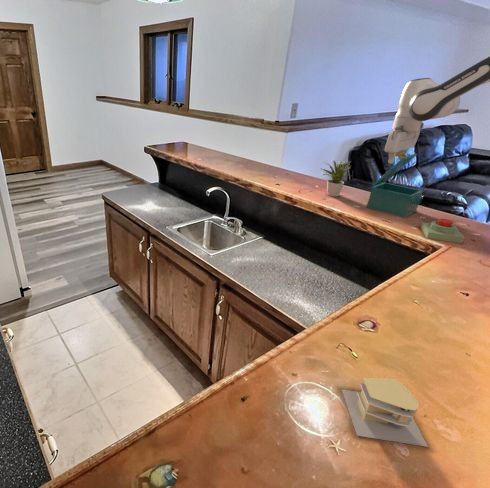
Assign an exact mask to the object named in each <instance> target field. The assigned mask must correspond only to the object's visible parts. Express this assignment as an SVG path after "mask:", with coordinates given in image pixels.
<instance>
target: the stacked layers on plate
mask: <svg viewBox="0 0 490 488" xmlns="http://www.w3.org/2000/svg"><path fill="white" fill-rule="evenodd" d="M362 380H363V383H360V388H361V391H354V390H348V389H341V392H342V396H343V398H344V401H345V404H346V407H347V410H348V413H349V416H350V419H351V422H352V425H353V428H354V431H355V434H356V436H358V437H364V438H369V439H375V440H376V439H377V440H382V441H383V440H384V441H389V442H395V443H402V444H408V445H414V446H421V447H426V448H428V447H429V445H428V443H427V442H426V440H425V438H424V437H423V434H422V432H421V430H420V428H419V427H418V424H417V422H416V420H415V419H414V416H415V414H416V413H417V411H418V407H419V406H420V402H419V401H418V399H416V397H415V396H414V395H413V393H411V392H410V390H409V389H408V388H407V387H406V386H405V384H403V383H402V382H401V381H399V380H397V379H394V378H386V377H384V378H381V377H362Z"/></svg>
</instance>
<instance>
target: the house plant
mask: <svg viewBox="0 0 490 488" xmlns="http://www.w3.org/2000/svg"><path fill="white" fill-rule="evenodd" d="M351 162H352V161H347V162H344V163H343V160H341V161H340V162H339V164H338V163H337V162H336V161H335V160H334V159H332V164H333V165H334V168H333V166H332V165H331V164H330V163H327V162H324V161H323V163H325V164H326V165H327V166H329V169H331V170H328V169H325V168H320V170H322V172H323V174H322V175H321V176H322V177H323V176H328V177H331V179H328V180H327V181H326V195H327V196H330V197H339V196H340V194H341V191H342V189H343V187H344V184H345V182H344V181H343V180H342V179H343V178H345V177H351V175H349V174H348V175H347V171H349V170H351V168H352V167H351V166H352V165H351V164H350V163H351Z"/></svg>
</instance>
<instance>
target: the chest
mask: <svg viewBox="0 0 490 488" xmlns="http://www.w3.org/2000/svg"><path fill="white" fill-rule="evenodd" d="M423 192H424V190H422V189H418V188H413V187H407V186H403V185H399V184H395V183H389V182H384V183H382V184H379V185H376V186H374V187H373V186H372V187H371V191H370V194H369V197H368V201H367V205H366V208H367V209H371V210H375V211H379V212H383V213H386V214H390V215H394V216H397V217H402V218H406V217H408V216H410V215H411V214H414V213H416V212H417V210H418V207H419V204H420V201H421V198H422V194H423Z"/></svg>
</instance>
